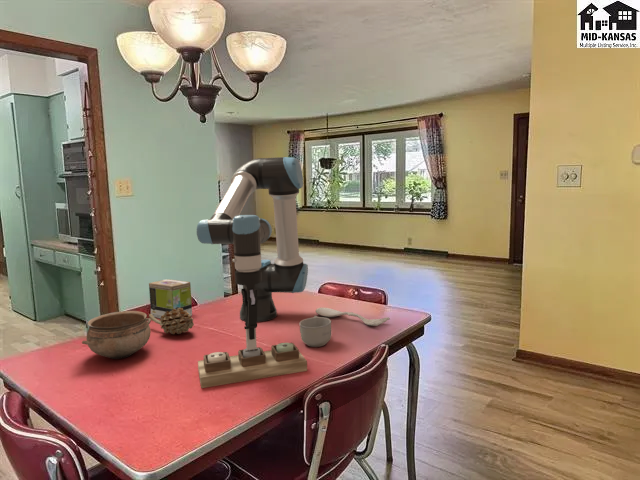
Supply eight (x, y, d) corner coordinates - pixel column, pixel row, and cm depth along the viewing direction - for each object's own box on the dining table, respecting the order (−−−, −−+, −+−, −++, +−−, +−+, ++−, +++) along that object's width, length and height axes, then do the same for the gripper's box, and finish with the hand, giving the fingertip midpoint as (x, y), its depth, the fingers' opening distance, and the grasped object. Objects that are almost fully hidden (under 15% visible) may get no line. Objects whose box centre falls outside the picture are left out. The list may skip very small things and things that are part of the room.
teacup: (328, 350, 143) (328, 327, 142) (296, 348, 145) (295, 325, 144) (335, 336, 156) (335, 314, 155) (306, 334, 159) (305, 313, 158)
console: (198, 370, 129) (197, 352, 129) (295, 355, 139) (295, 339, 138) (201, 388, 118) (200, 368, 118) (307, 370, 128) (306, 352, 127)
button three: (242, 358, 130) (241, 348, 129) (258, 355, 131) (258, 345, 131) (244, 364, 125) (244, 354, 125) (262, 362, 127) (261, 351, 126)
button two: (207, 363, 127) (206, 353, 126) (225, 360, 128) (224, 350, 128) (208, 370, 122) (208, 359, 121) (227, 367, 123) (226, 356, 123)
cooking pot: (106, 375, 127) (103, 335, 126) (65, 364, 136) (62, 326, 134) (171, 346, 150) (168, 311, 148) (132, 338, 158) (129, 305, 156)
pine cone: (201, 332, 164) (200, 306, 162) (184, 340, 155) (182, 313, 154) (156, 325, 172) (154, 301, 171) (137, 333, 163) (135, 307, 162)
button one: (275, 353, 133) (274, 343, 133) (290, 351, 135) (290, 341, 134) (278, 359, 128) (278, 349, 128) (295, 357, 130) (295, 347, 130)
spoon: (378, 331, 161) (378, 322, 160) (311, 316, 181) (311, 308, 180) (390, 325, 168) (390, 316, 167) (324, 311, 188) (324, 303, 187)
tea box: (193, 315, 185) (191, 281, 183) (173, 322, 176) (171, 286, 174) (169, 310, 193) (167, 277, 191) (150, 316, 184) (147, 282, 182)
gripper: (231, 266, 130) (235, 342, 133) (238, 274, 117) (242, 358, 121) (256, 264, 132) (259, 339, 135) (265, 272, 120) (269, 354, 123)
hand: (251, 348), depth 128 cm, fingers closed
